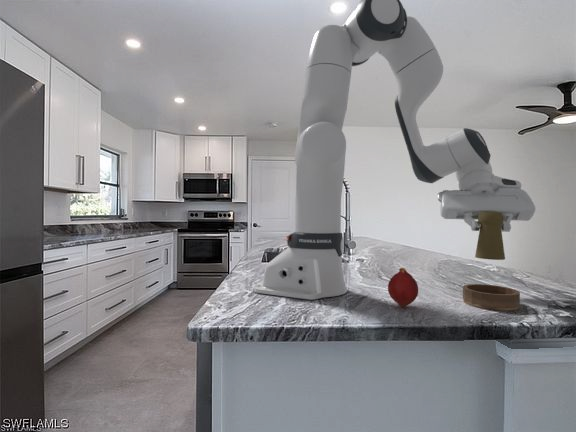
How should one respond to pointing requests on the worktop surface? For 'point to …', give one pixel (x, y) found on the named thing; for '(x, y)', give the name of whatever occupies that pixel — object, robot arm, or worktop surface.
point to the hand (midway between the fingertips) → (491, 229)
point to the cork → (490, 236)
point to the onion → (403, 288)
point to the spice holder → (491, 297)
